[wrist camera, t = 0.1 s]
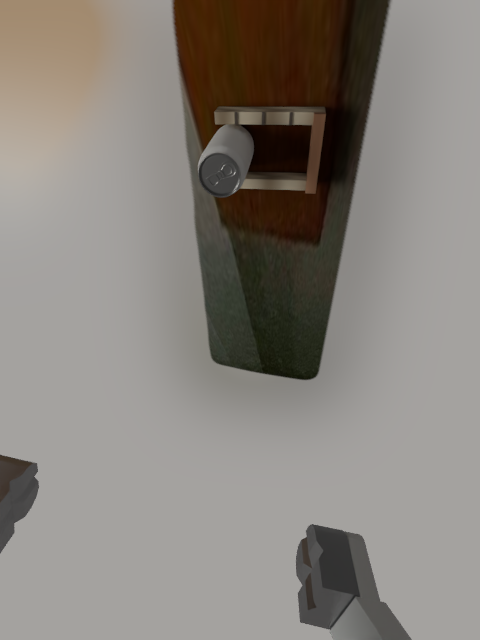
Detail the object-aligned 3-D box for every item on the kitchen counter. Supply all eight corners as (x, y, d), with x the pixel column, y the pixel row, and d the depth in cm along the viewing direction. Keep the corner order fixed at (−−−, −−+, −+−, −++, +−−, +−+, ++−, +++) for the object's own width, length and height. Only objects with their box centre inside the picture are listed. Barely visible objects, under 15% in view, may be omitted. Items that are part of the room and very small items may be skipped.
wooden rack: (223, 180, 55) (218, 190, 53) (218, 106, 48) (213, 113, 45) (315, 182, 54) (315, 193, 51) (324, 106, 46) (325, 114, 43)
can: (262, 152, 52) (254, 183, 43) (229, 175, 55) (215, 209, 46) (238, 112, 48) (223, 138, 40) (204, 140, 51) (184, 168, 43)
